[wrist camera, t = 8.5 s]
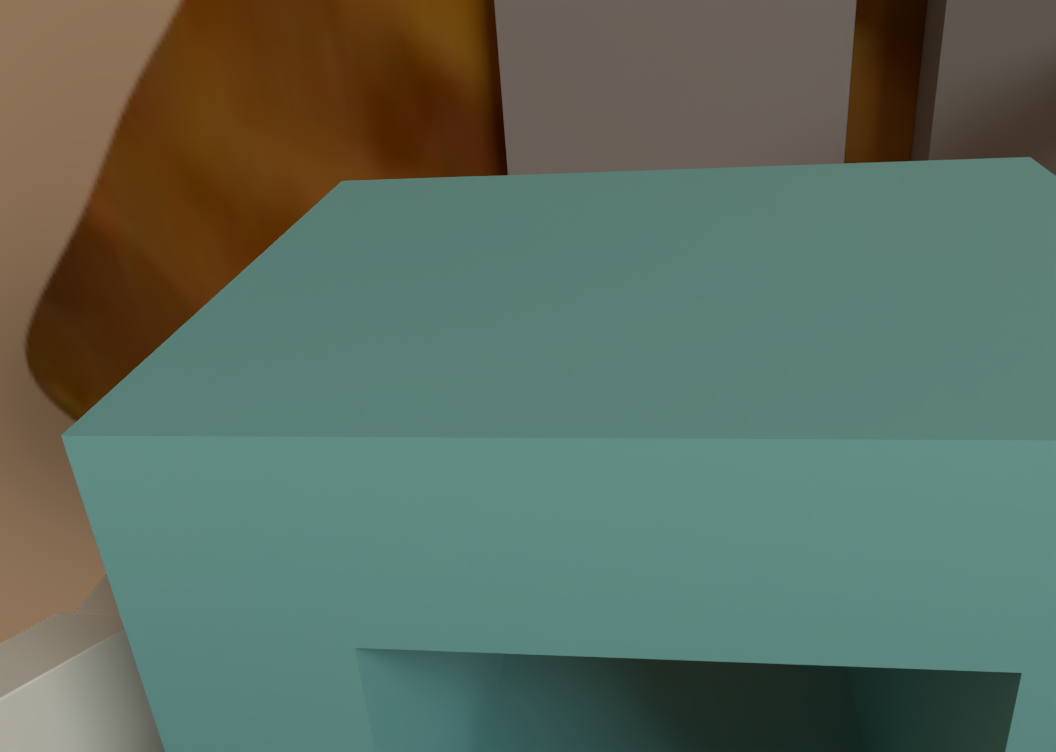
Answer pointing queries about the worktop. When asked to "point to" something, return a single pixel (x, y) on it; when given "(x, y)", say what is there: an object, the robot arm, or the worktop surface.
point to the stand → (987, 81)
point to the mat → (673, 83)
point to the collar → (604, 469)
